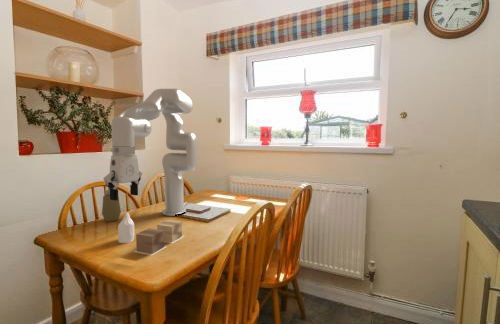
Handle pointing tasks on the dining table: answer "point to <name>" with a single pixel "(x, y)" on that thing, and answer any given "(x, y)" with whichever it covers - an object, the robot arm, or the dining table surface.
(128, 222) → the white bottle
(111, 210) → the squeeze bottle
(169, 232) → the oak block
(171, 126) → the robot arm
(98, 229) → the dining table surface
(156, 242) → the walnut block
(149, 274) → the dining table surface
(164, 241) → the build board
